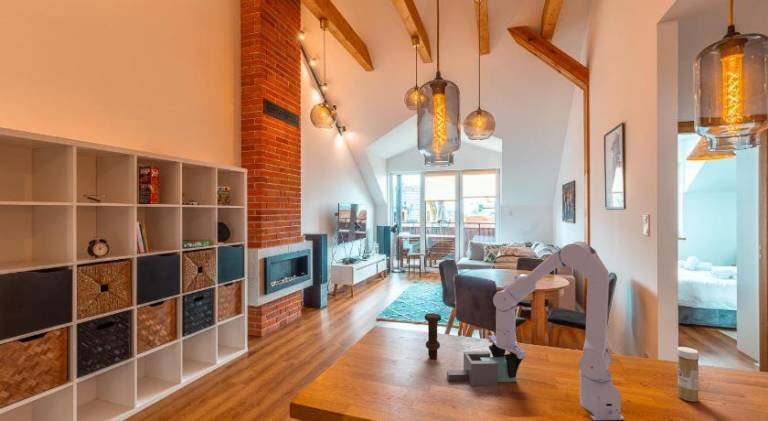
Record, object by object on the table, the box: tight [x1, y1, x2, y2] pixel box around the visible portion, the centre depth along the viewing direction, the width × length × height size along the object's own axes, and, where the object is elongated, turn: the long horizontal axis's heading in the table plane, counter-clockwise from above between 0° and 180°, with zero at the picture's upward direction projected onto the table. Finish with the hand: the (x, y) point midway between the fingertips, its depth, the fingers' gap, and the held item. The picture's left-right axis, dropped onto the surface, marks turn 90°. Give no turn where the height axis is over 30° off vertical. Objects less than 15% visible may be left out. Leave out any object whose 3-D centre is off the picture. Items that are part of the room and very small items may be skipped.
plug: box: [480, 356, 517, 383], centre depth 109 cm, size 4×10×6 cm, turn 92°
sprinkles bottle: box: [676, 346, 700, 403], centre depth 97 cm, size 5×5×14 cm
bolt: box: [424, 312, 442, 360], centre depth 124 cm, size 6×5×15 cm
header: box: [446, 350, 499, 387], centre depth 109 cm, size 9×14×7 cm, turn 92°
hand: (505, 373), depth 109 cm, fingers closed on plug, 5 cm apart
